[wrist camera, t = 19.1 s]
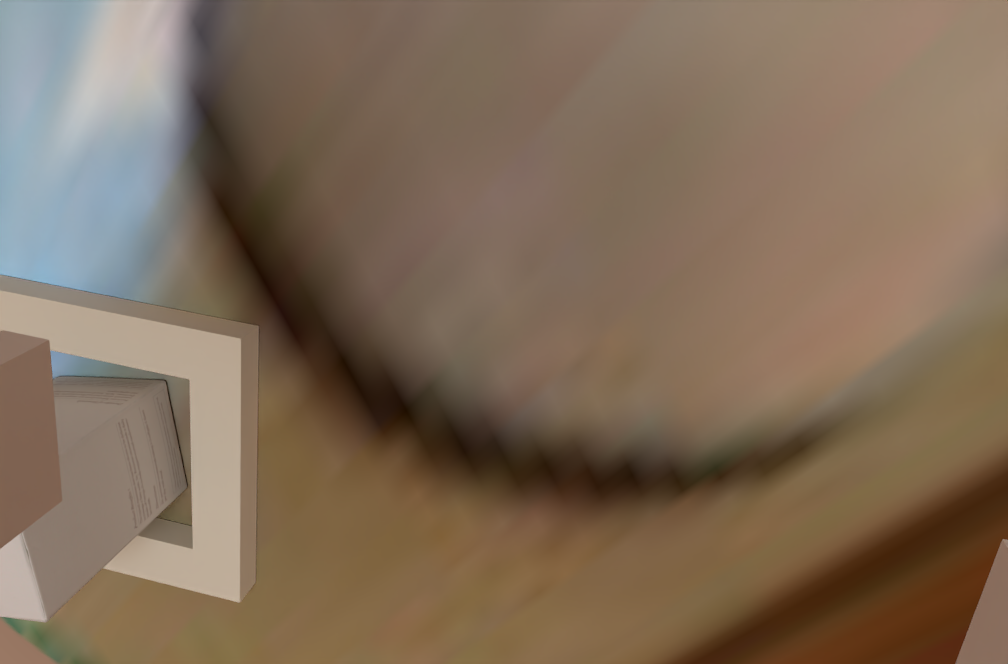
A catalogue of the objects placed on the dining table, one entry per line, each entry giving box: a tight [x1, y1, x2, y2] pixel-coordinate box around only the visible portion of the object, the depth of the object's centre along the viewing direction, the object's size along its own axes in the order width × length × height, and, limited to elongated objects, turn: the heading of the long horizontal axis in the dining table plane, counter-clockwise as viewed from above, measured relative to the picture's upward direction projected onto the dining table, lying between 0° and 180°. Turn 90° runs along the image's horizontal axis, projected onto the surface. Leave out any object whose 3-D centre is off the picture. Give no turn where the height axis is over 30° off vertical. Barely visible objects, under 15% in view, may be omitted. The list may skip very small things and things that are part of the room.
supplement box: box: [0, 376, 187, 622], centre depth 48 cm, size 7×7×13 cm
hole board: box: [0, 275, 259, 603], centre depth 53 cm, size 17×17×2 cm
